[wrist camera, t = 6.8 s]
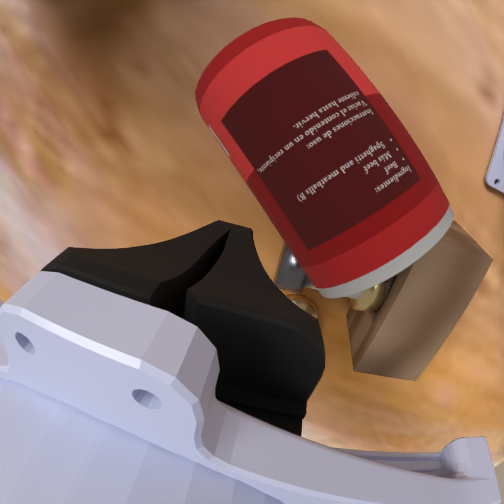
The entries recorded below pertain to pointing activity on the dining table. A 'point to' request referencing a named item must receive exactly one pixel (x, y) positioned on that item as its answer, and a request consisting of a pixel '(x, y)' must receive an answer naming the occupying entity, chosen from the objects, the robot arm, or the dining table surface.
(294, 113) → the canned food
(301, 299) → the spacer
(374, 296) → the shaft
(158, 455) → the robot arm
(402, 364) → the block
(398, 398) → the dining table surface
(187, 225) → the dining table surface
